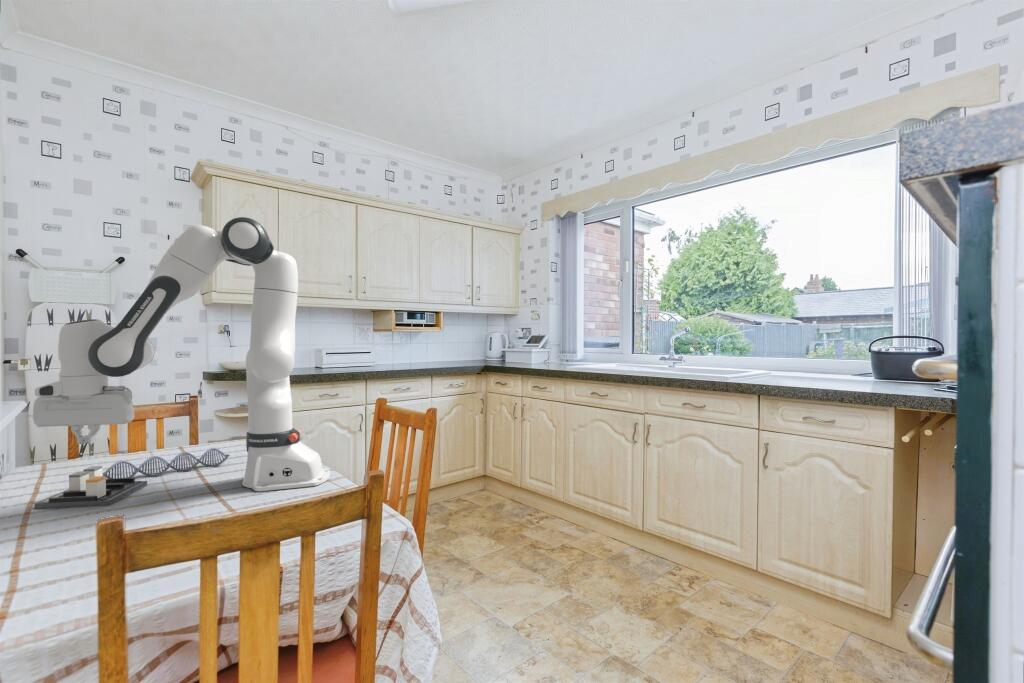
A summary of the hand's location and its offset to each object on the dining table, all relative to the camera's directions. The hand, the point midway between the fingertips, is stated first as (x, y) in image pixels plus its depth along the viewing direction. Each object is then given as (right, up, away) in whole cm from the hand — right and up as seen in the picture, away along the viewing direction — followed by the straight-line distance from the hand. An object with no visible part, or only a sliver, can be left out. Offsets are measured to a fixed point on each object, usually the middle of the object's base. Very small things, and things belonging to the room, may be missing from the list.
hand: (86, 443), depth 118 cm
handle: (-6, -13, +9) cm, 17 cm away
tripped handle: (+2, -13, +1) cm, 13 cm away
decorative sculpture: (+3, -14, +24) cm, 29 cm away
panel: (-2, -14, +5) cm, 16 cm away
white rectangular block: (-6, -13, +5) cm, 15 cm away
